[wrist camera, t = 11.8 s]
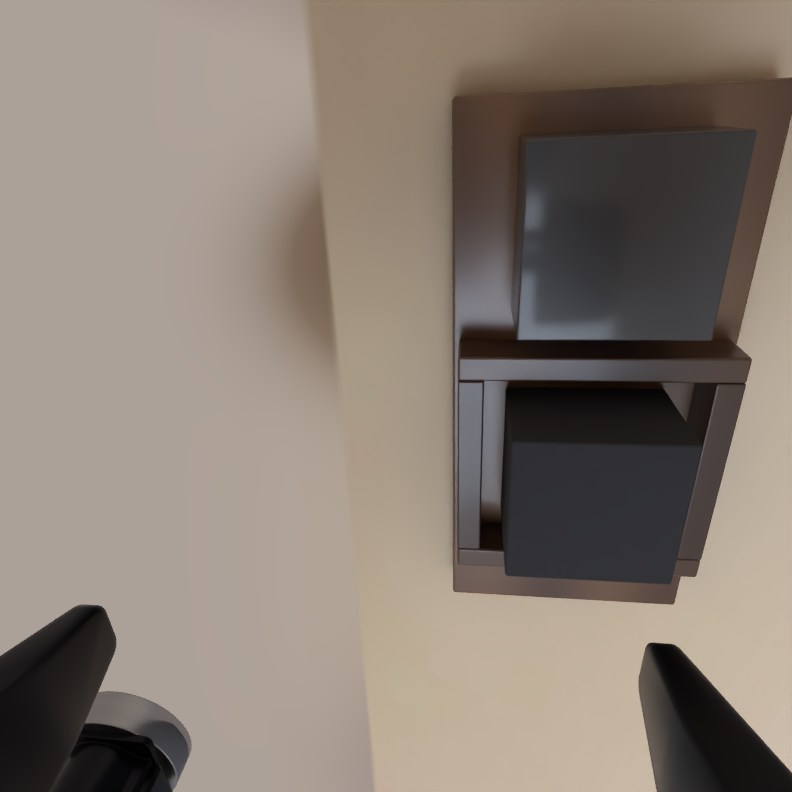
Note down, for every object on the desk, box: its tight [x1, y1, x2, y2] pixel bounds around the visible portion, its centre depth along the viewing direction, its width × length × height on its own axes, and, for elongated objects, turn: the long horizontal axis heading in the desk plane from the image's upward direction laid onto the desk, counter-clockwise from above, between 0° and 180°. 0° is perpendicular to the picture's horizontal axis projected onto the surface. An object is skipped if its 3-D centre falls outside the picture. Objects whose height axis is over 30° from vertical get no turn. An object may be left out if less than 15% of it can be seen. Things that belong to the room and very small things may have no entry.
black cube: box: [501, 388, 702, 585], centre depth 18 cm, size 5×5×4 cm
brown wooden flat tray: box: [452, 78, 792, 604], centre depth 18 cm, size 9×18×4 cm, turn 2°
